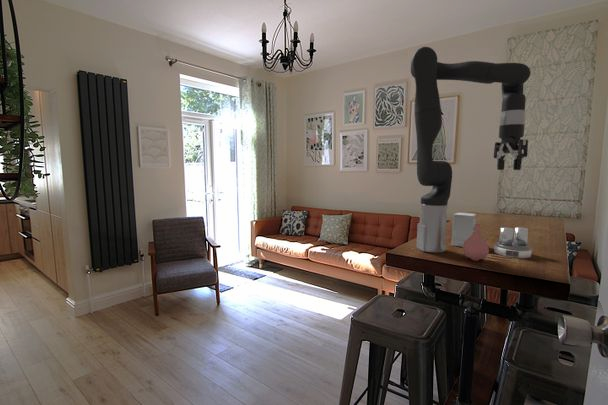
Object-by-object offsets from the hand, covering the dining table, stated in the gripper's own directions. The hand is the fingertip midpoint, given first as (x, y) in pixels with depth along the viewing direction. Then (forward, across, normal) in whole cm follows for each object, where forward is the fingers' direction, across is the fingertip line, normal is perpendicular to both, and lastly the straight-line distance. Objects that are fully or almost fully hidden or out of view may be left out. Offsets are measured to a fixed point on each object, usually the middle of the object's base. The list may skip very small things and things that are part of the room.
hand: (508, 169), depth 114 cm
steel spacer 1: (+27, -4, +2) cm, 27 cm away
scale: (+30, -4, -1) cm, 30 cm away
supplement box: (+30, +9, +10) cm, 33 cm away
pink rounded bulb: (+30, -11, +17) cm, 36 cm away
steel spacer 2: (+27, -4, -4) cm, 27 cm away
